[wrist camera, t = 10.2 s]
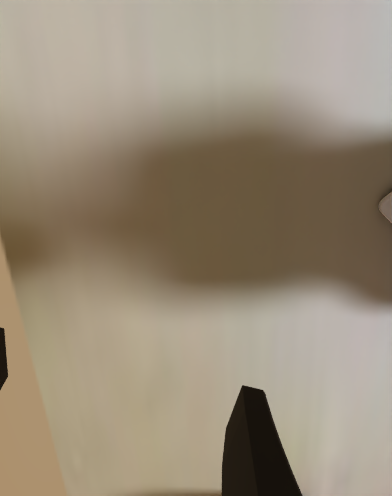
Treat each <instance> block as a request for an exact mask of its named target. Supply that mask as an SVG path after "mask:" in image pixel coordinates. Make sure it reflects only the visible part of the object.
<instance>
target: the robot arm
mask: <svg viewBox="0 0 392 496" xmlns="http://www.w3.org/2000/svg"><path fill="white" fill-rule="evenodd" d="M379 210H380V212H381V213H382V214H383V215H384V216H385V217H386V218H387V219H388V220H389V221H390V222H391V223H392V192H390V193H389V194H388V195H387V196H385V197H384V198H383V199H382V200H381V201H380V203H379ZM7 377H8V370H7V358H6V347H5V335H4V328H0V390H1V388H2V386H3V384H4V382H5V381H6V379H7ZM222 496H302V493H301V491H300V489H299V487H298V484H297V482H296V479H295V477H294V475H293V472H292V470H291V467H290V465H289V462H288V459H287V457H286V454H285V452H284V449H283V447H282V444H281V441H280V438H279V435H278V433H277V430H276V427H275V424H274V421H273V418H272V415H271V412H270V408H269V405H268V402H267V398H266V395H265V393H264V391H263V390H260V389H256V388H252V387H248V386H243V385H242V388H241V390H240V393H239V396H238V398H237V401H236V403H235V406H234V409H233V411H232V414H231V417H230V419H229V422H228V425H227V427H226V433H225V442H224V452H223V462H222Z"/></svg>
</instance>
